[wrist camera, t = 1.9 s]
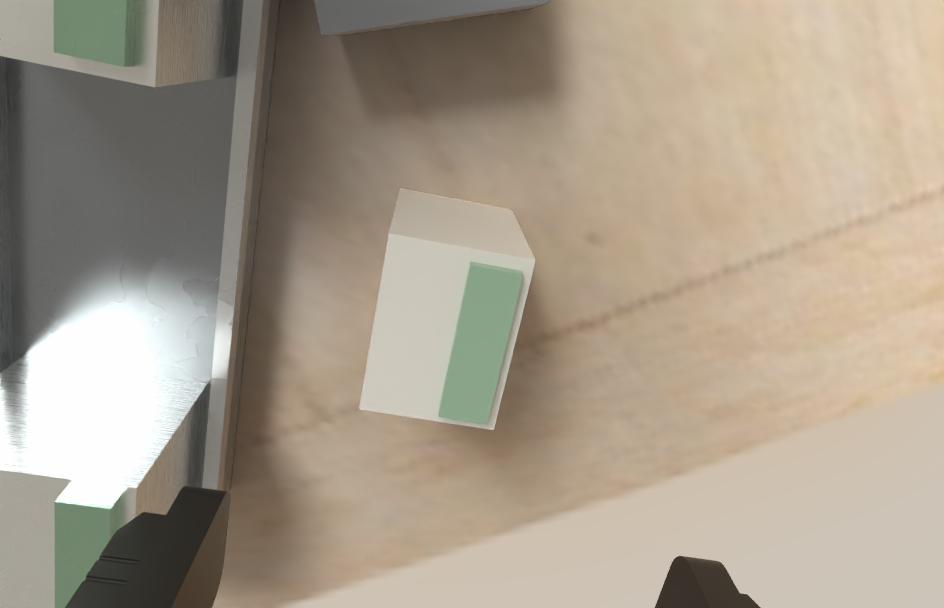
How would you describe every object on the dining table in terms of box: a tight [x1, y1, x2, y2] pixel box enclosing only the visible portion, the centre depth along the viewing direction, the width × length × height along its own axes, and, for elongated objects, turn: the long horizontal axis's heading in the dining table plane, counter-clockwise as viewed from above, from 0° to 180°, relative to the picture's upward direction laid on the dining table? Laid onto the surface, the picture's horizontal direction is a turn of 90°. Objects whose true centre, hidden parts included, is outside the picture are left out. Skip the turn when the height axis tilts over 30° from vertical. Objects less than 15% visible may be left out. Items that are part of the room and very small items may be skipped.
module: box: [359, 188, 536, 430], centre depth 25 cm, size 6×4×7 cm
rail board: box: [0, 0, 280, 608], centre depth 22 cm, size 24×9×9 cm, turn 168°
